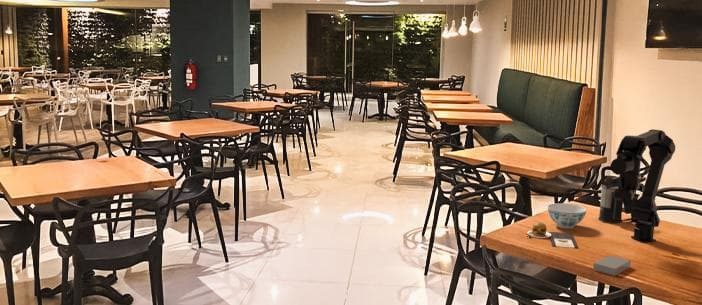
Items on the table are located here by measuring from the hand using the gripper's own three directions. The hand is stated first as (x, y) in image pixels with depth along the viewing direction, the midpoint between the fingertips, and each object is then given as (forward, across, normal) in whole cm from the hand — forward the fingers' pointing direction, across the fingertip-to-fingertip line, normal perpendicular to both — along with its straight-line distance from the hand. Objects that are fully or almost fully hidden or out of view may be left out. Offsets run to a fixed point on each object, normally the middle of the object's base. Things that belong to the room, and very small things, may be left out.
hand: (627, 213), depth 231 cm
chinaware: (+13, -14, -26) cm, 33 cm away
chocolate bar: (+14, +5, -21) cm, 26 cm away
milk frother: (+13, -36, -11) cm, 40 cm away
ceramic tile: (+12, +19, +4) cm, 23 cm away
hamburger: (+14, +5, -30) cm, 33 cm away
